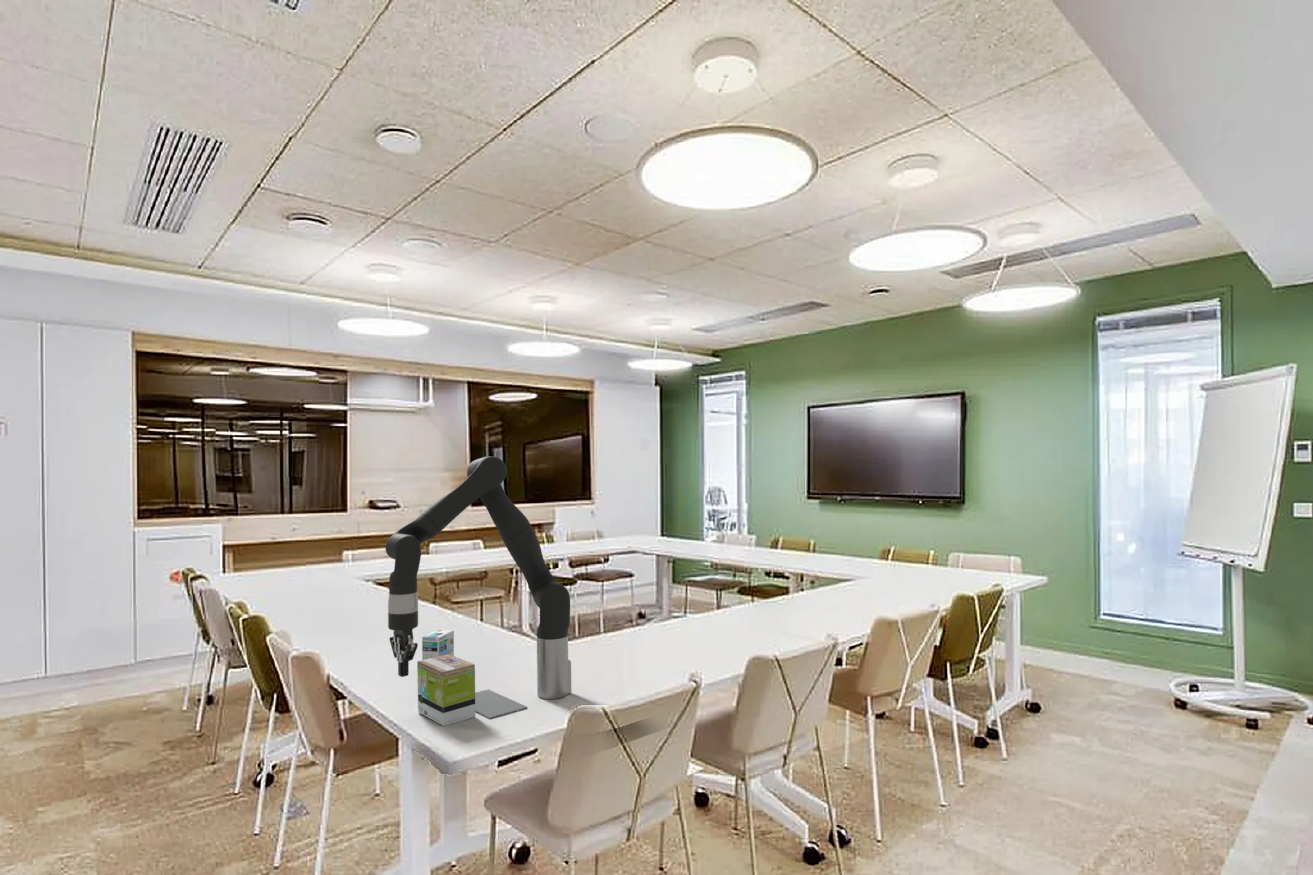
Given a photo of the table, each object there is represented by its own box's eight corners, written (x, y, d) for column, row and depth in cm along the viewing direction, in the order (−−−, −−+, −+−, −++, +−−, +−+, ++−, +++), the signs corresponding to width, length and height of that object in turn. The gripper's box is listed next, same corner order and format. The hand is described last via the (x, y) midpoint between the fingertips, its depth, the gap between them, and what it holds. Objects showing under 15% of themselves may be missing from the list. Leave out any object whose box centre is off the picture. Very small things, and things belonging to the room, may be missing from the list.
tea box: (416, 713, 201) (416, 660, 201) (449, 704, 208) (449, 652, 208) (443, 727, 190) (442, 670, 191) (476, 717, 197) (476, 662, 198)
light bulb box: (439, 669, 244) (439, 637, 244) (421, 668, 245) (421, 636, 245) (454, 660, 254) (454, 629, 254) (437, 660, 255) (436, 629, 256)
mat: (488, 690, 220) (488, 689, 220) (527, 708, 204) (527, 706, 204) (451, 700, 212) (451, 698, 212) (489, 719, 196) (489, 717, 196)
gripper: (427, 611, 190) (427, 678, 189) (406, 604, 199) (406, 667, 199) (399, 615, 185) (399, 684, 184) (379, 608, 194) (379, 673, 194)
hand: (403, 675), depth 192 cm, fingers closed
